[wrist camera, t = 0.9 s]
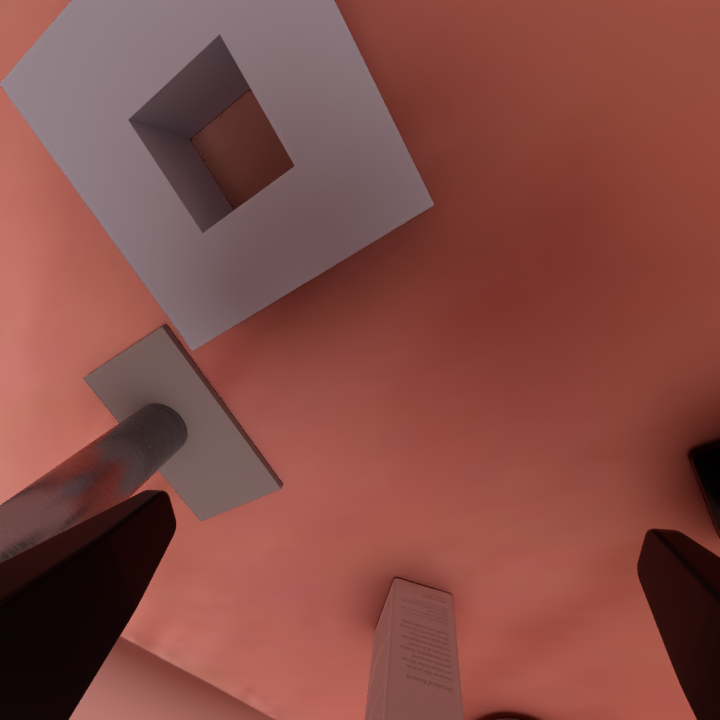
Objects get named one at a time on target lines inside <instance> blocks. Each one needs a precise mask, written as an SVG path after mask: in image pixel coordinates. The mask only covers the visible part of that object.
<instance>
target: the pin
mask: <svg viewBox="0 0 720 720" xmlns="http://www.w3.org/2000/svg"><path fill="white" fill-rule="evenodd" d="M187 437H188V431H187V427H186V424H185V422H184V420H183V419H182V417H181V416H180V415H179V414H178V413H177V412H176V411H175V410H173V409H172V408H170V407H168V406H166V405H163V404H158V403H152V404H148V405H145V406H144V407H142V408H141V409H139V410H138V411H136V412H135V413H134V414H132V415H131V416H129V417H128V418H126V419H125V420H123V421H122V422H120V423H119V424H118V425H116V426H115V427H113V428H112V429H110V430H109V431H107V432H106V433H105V434H103V435H102V436H100V437H99V438H97V439H96V440H94V441H93V442H91V443H90V444H89V445H87V446H86V447H84V448H83V449H81V450H80V451H78V452H77V453H75V454H74V455H73V456H71V457H70V458H68V459H67V460H65V461H64V462H62V463H61V464H60V465H58V466H57V467H55V468H54V469H52V470H51V471H49V472H48V473H46V474H45V475H44V476H42V477H41V478H39V479H38V480H36V481H35V482H33V483H32V484H30V485H29V486H28V487H26V488H25V489H23V490H22V491H20V492H19V493H17V494H16V495H15V496H13V497H12V498H10V499H9V500H7V501H6V502H4V503H3V504H1V505H0V563H1V562H3V561H5V560H7V559H9V558H11V557H13V556H15V555H17V554H19V553H21V552H23V551H25V550H27V549H29V548H31V547H33V546H35V545H37V544H39V543H41V542H43V541H45V540H47V539H49V538H51V537H53V536H55V535H57V534H59V533H61V532H63V531H65V530H67V529H69V528H71V527H73V526H75V525H77V524H79V523H81V522H83V521H85V520H87V519H89V518H91V517H93V516H95V515H97V514H99V513H101V512H103V511H105V510H107V509H109V508H111V507H113V506H115V505H117V504H119V503H121V502H123V501H125V500H127V499H129V498H130V497H131V496H132V495H133V494H134V493H135V492H136V491H137V490H138V489H139V488H140V487H141V486H142V485H143V484H144V483H145V482H146V481H147V480H148V479H149V478H150V477H151V476H152V475H153V474H154V473H155V472H157V471H158V470H159V469H160V468H161V467H162V466H163V465H164V464H165V463H166V462H167V461H168V460H169V459H170V458H171V457H172V456H173V455H174V454H175V453H176V452H177V451H178V450H179V449H180V448H181V447H182V446H183V445H184V444H185V443H186V440H187Z"/></svg>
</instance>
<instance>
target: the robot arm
mask: <svg viewBox="0 0 720 720" xmlns="http://www.w3.org/2000/svg"><path fill="white" fill-rule="evenodd" d="M703 456H705V458H703V459H701V460H700V458H701V457H703ZM689 460H690V463H691V466H692V468H693V471H694V473H695V476H696V479H697V481H698V484H699V487H700V489H701V492H702V494H703V497H704V500H705V502H706V505H707V507H708V510H709V513H710V515H711V518H712V521H713V523H714V526H715V528H716V531H717V534H718V536H719V538H720V441H717V442H714V443H711V444H707V445H704V446H701V447H698V448H696V449H693V450H692V451H691V452H690V454H689ZM175 530H176V519H175V515H174V511H173V508H172V504H171V501H170V497H169V495H168V494H167V493H166V492H165V491H159V490H145V491H143V492H141V493H139V494H137V495H135V496H133V497H131V498H129V499H127V500H125V501H123V502H121V503H119V504H117V505H115V506H113V507H111V508H109V509H107V510H105V511H103V512H101V513H99V514H97V515H95V516H93V517H91V518H89V519H87V520H85V521H83V522H81V523H79V524H77V525H75V526H73V527H71V528H69V529H67V530H65V531H63V532H61V533H59V534H57V535H55V536H53V537H51V538H49V539H47V540H45V541H43V542H41V543H39V544H37V545H35V546H33V547H31V548H29V549H27V550H25V551H23V552H21V553H19V554H17V555H15V556H13V557H11V558H9V559H7V560H5V561H3V562H1V563H0V720H69V718H70V717H71V715H72V713H73V712H74V710H75V708H76V707H77V705H78V703H79V702H80V700H81V699H82V697H83V695H84V694H85V692H86V690H87V689H88V687H89V686H90V684H91V682H92V681H93V679H94V677H95V676H96V674H97V672H98V671H99V669H100V667H101V666H102V664H103V663H104V661H105V659H106V658H107V656H108V654H109V653H110V651H111V650H112V648H113V646H114V645H115V643H116V641H117V640H118V638H119V637H120V635H121V633H122V632H123V630H124V628H125V627H126V625H127V624H128V622H129V620H130V618H131V617H132V615H133V613H134V612H135V610H136V608H137V606H138V604H139V602H140V601H141V599H142V597H143V595H144V593H145V591H146V589H147V587H148V585H149V583H150V581H151V579H152V577H153V575H154V573H155V571H156V569H157V567H158V565H159V563H160V561H161V559H162V557H163V555H164V553H165V551H166V549H167V547H168V545H169V543H170V541H171V539H172V537H173V535H174V533H175ZM637 571H638V577H639V580H640V583H641V585H642V588H643V591H644V593H645V596H646V598H647V601H648V604H649V606H650V609H651V611H652V614H653V616H654V619H655V622H656V624H657V627H658V629H659V632H660V635H661V637H662V640H663V642H664V645H665V648H666V650H667V653H668V655H669V658H670V661H671V663H672V666H673V668H674V671H675V673H676V675H677V678H678V680H679V683H680V685H681V687H682V689H683V691H684V694H685V696H686V698H687V700H688V702H689V704H690V706H691V708H692V710H693V712H694V714H695V716H696V719H697V720H720V557H718V556H717V555H715V554H714V553H712V552H711V551H709V550H707V549H706V548H704V547H703V546H701V545H700V544H698V543H697V542H695V541H694V540H692V539H691V538H689V537H688V536H686V535H684V534H683V533H681V532H679V531H676V530H667V529H650V530H648V531H647V533H646V535H645V538H644V542H643V545H642V549H641V553H640V556H639V560H638V564H637Z"/></svg>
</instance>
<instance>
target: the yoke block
mask: <svg viewBox="0 0 720 720" xmlns="http://www.w3.org/2000/svg"><path fill="white" fill-rule="evenodd" d="M0 86H1V87H2V89H3V90H4V91H5V93H6V94H7V96H8V97H9V98H10V100H11V101H12V103H13V104H14V105H15V107H16V108H17V109H18V111H19V112H20V114H21V115H22V116H23V118H24V119H25V120H26V122H27V123H28V125H29V126H30V127H31V129H32V130H33V132H34V133H35V134H36V136H37V137H38V138H39V140H40V141H41V143H42V144H43V145H44V147H45V148H46V149H47V151H48V152H49V154H50V155H51V156H52V158H53V159H54V161H55V162H56V163H57V165H58V166H59V167H60V169H61V170H62V172H63V173H64V174H65V176H66V177H67V178H68V180H69V181H70V183H71V184H72V185H73V187H74V188H75V190H76V191H77V192H78V194H79V195H80V196H81V198H82V199H83V201H84V202H85V203H86V205H87V206H88V208H89V209H90V210H91V212H92V213H93V214H94V216H95V217H96V219H97V220H98V221H99V223H100V224H101V225H102V227H103V228H104V230H105V231H106V232H107V234H108V235H109V237H110V238H111V239H112V241H113V242H114V243H115V245H116V246H117V248H118V249H119V250H120V252H121V253H122V254H123V256H124V257H125V259H126V260H127V261H128V263H129V264H130V266H131V267H132V268H133V270H134V271H135V272H136V274H137V275H138V277H139V278H140V279H141V281H142V282H143V283H144V285H145V286H146V288H147V289H148V290H149V292H150V293H151V295H152V296H153V297H154V299H155V300H156V301H157V303H158V304H159V306H160V307H161V308H162V310H163V311H164V312H165V314H166V315H167V317H168V318H169V319H170V321H171V322H172V324H173V325H174V326H175V328H176V329H177V330H178V332H179V333H180V335H181V336H182V337H183V339H184V340H185V341H186V343H187V344H188V346H189V347H190V348H191V350H192V351H193V350H195V349H197V348H198V347H200V346H202V345H203V344H205V343H207V342H208V341H210V340H212V339H214V338H215V337H217V336H219V335H220V334H222V333H224V332H225V331H227V330H229V329H230V328H232V327H234V326H235V325H237V324H239V323H240V322H242V321H244V320H245V319H247V318H249V317H250V316H252V315H254V314H255V313H257V312H259V311H260V310H262V309H264V308H265V307H267V306H269V305H270V304H272V303H273V302H275V301H277V300H278V299H280V298H282V297H283V296H285V295H287V294H288V293H290V292H292V291H293V290H295V289H297V288H298V287H300V286H302V285H303V284H305V283H307V282H308V281H310V280H312V279H313V278H315V277H317V276H318V275H320V274H321V273H323V272H325V271H326V270H328V269H330V268H331V267H333V266H335V265H336V264H338V263H340V262H341V261H343V260H345V259H346V258H348V257H350V256H351V255H353V254H355V253H356V252H358V251H360V250H361V249H363V248H365V247H366V246H368V245H369V244H371V243H373V242H374V241H376V240H378V239H379V238H381V237H383V236H384V235H386V234H388V233H389V232H391V231H393V230H394V229H396V228H398V227H399V226H401V225H403V224H404V223H406V222H408V221H409V220H411V219H413V218H414V217H416V216H417V215H419V214H421V213H422V212H424V211H426V210H427V209H429V208H431V207H432V206H433V205H434V203H433V201H432V199H431V197H430V195H429V193H428V191H427V189H426V187H425V184H424V182H423V180H422V178H421V176H420V174H419V172H418V170H417V168H416V166H415V164H414V162H413V160H412V158H411V156H410V154H409V152H408V150H407V148H406V146H405V144H404V142H403V139H402V137H401V135H400V133H399V131H398V129H397V127H396V125H395V123H394V121H393V119H392V117H391V115H390V113H389V111H388V109H387V107H386V105H385V103H384V101H383V99H382V97H381V94H380V92H379V90H378V88H377V86H376V84H375V82H374V80H373V78H372V76H371V74H370V72H369V70H368V68H367V66H366V64H365V62H364V60H363V58H362V56H361V54H360V52H359V49H358V47H357V45H356V43H355V41H354V39H353V37H352V35H351V33H350V31H349V29H348V27H347V25H346V23H345V21H344V19H343V17H342V15H341V13H340V11H339V9H338V7H337V4H336V2H335V0H72V1H71V2H70V3H69V4H68V5H67V6H66V8H65V9H64V10H63V11H62V12H61V13H60V14H59V16H58V17H57V18H56V19H55V20H54V21H53V23H52V24H51V25H50V26H49V27H48V28H47V30H46V31H45V32H44V33H43V34H42V35H41V36H40V38H39V39H38V40H37V41H36V42H35V43H34V45H33V46H32V47H31V48H30V49H29V50H28V52H27V53H26V54H25V55H24V56H23V57H22V58H21V60H20V61H19V62H18V63H17V64H16V65H15V67H14V68H13V69H12V70H11V71H10V72H9V74H8V75H7V76H6V77H5V78H4V79H3V80H2V82H1V83H0ZM250 88H251V90H252V92H253V94H254V95H255V97H256V99H257V101H258V102H259V104H260V106H261V108H262V109H263V111H264V113H265V115H266V116H267V118H268V120H269V122H270V123H271V125H272V127H273V129H274V131H275V132H276V134H277V136H278V138H279V139H280V141H281V143H282V145H283V146H284V148H285V150H286V152H287V153H288V155H289V157H290V159H291V160H292V162H293V164H294V167H293V168H291V169H290V170H289V171H287V172H286V173H284V174H283V175H282V176H280V177H279V178H278V179H276V180H275V181H273V182H272V183H271V184H269V185H268V186H267V187H265V188H264V189H263V190H261V191H260V192H258V193H257V194H256V195H254V196H253V197H252V198H250V199H249V200H247V201H246V202H245V203H243V204H242V205H241V206H239V207H238V208H236V209H235V210H233V208H232V207H231V205H230V203H229V202H228V200H227V199H226V197H225V195H224V194H223V192H222V191H221V189H220V187H219V186H218V184H217V183H216V181H215V179H214V178H213V176H212V175H211V173H210V171H209V170H208V168H207V167H206V165H205V164H204V162H203V160H202V159H201V157H200V156H199V154H198V152H197V151H196V149H195V148H194V146H193V144H192V143H191V141H190V139H191V138H192V137H193V136H194V135H196V134H197V133H198V132H199V131H200V130H201V129H203V128H204V127H205V126H206V125H207V124H209V123H210V122H211V121H212V120H213V119H214V118H216V117H217V116H218V115H219V114H220V113H222V112H223V111H224V110H225V109H226V108H227V107H229V106H230V105H231V104H232V103H233V102H235V101H236V100H237V99H238V98H239V97H240V96H242V95H243V94H244V93H245V92H246V91H248V90H249V89H250Z"/></svg>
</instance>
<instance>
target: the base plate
mask: <svg viewBox="0 0 720 720" xmlns="http://www.w3.org/2000/svg"><path fill="white" fill-rule="evenodd" d="M83 379H84V380H85V382H86V383H87V384H88V385H89V386H90V388H91V389H92V390H93V391H94V393H95V394H96V395H97V396H98V397H99V399H100V400H101V401H102V402H103V403H104V405H105V406H106V407H107V408H108V410H109V411H110V412H111V413H112V414H113V416H114V417H115V418H116V419H117V420H118V422H119V423H120V422H122V421H123V420H125V419H126V418H128V417H129V416H131V415H132V414H134V413H135V412H136V411H138V410H139V409H141V408H142V407H144V406H145V405H148V404H152V403H158V404H163V405H166V406H168V407H170V408H172V409H173V410H175V411H176V412H177V413H178V414H179V415H180V416H181V417H182V419H183V420H184V422H185V424H186V427H187V431H188V437H187V440H186V443H185V444H184V445H183V446H182V447H181V448H180V449H179V450H178V451H177V452H176V453H175V454H174V455H173V456H172V457H171V458H170V459H169V460H168V461H167V462H166V463H165V464H164V465H163V466H162V467H161V468H160V469H159V472H160V473H161V474H162V475H163V476H164V478H165V479H166V480H167V481H168V482H169V484H170V485H171V486H172V487H173V489H174V490H175V491H176V492H177V493H178V495H179V496H180V497H181V498H182V499H183V501H184V502H185V503H186V504H187V506H188V507H189V508H190V509H191V510H192V512H193V513H194V514H195V515H196V516H197V518H198V519H199V520H200V521H203V520H206V519H208V518H211V517H213V516H215V515H218V514H220V513H223V512H225V511H228V510H230V509H233V508H235V507H237V506H240V505H242V504H245V503H247V502H250V501H252V500H255V499H257V498H260V497H262V496H264V495H267V494H269V493H272V492H274V491H277V490H279V489H281V488H282V486H283V484H282V483H281V481H280V480H279V478H278V477H277V476H276V474H275V473H274V472H273V470H272V469H271V467H270V466H269V465H268V463H267V462H266V461H265V459H264V458H263V456H262V455H261V454H260V452H259V451H258V450H257V448H256V447H255V445H254V444H253V443H252V441H251V440H250V439H249V437H248V436H247V435H246V433H245V432H244V430H243V429H242V428H241V426H240V425H239V424H238V422H237V421H236V419H235V418H234V417H233V415H232V414H231V413H230V411H229V410H228V408H227V407H226V406H225V404H224V403H223V402H222V400H221V399H220V397H219V396H218V395H217V393H216V392H215V391H214V389H213V388H212V387H211V385H210V384H209V382H208V381H207V380H206V378H205V377H204V376H203V374H202V373H201V371H200V370H199V369H198V367H197V366H196V365H195V363H194V362H193V360H192V359H191V358H190V356H189V355H188V354H187V352H186V351H185V349H184V348H183V347H182V345H181V344H180V343H179V341H178V340H177V339H176V337H175V336H174V334H173V333H172V332H171V330H170V329H169V328H168V326H167V325H164V326H162V327H160V328H159V329H157V330H156V331H154V332H153V333H151V334H150V335H148V336H147V337H145V338H144V339H142V340H141V341H139V342H138V343H136V344H135V345H133V346H131V347H130V348H128V349H127V350H125V351H124V352H122V353H121V354H119V355H118V356H116V357H115V358H113V359H112V360H110V361H109V362H107V363H105V364H104V365H102V366H101V367H99V368H98V369H96V370H95V371H93V372H92V373H90V374H89V375H87V376H86V377H84V378H83Z"/></svg>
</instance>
